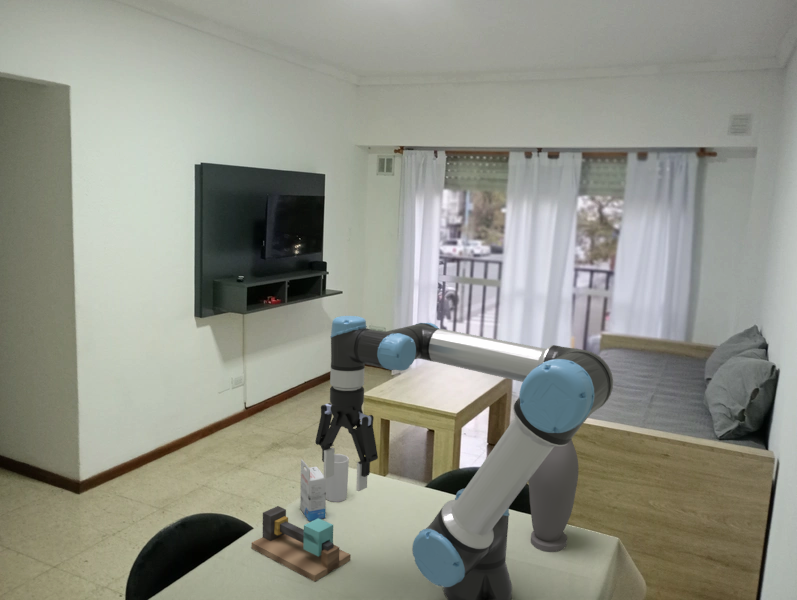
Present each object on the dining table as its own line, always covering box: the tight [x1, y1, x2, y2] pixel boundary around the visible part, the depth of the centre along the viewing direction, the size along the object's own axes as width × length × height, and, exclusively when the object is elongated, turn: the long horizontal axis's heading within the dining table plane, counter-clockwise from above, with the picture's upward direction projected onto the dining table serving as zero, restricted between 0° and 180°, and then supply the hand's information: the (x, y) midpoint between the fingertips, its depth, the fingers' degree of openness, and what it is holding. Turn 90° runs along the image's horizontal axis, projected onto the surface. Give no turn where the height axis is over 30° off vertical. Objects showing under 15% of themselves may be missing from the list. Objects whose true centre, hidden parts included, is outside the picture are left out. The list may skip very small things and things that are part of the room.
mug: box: [326, 453, 350, 503], centre depth 189 cm, size 10×7×12 cm, turn 177°
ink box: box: [299, 458, 327, 522], centre depth 177 cm, size 9×5×15 cm, turn 25°
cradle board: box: [251, 505, 352, 582], centre depth 156 cm, size 22×12×8 cm, turn 52°
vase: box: [527, 438, 579, 553], centre depth 165 cm, size 13×13×35 cm
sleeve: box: [303, 518, 334, 557], centre depth 152 cm, size 5×5×6 cm
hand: (344, 482), depth 145 cm, fingers open, 9 cm apart
